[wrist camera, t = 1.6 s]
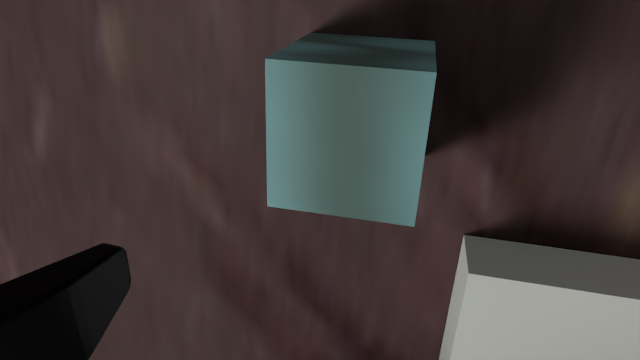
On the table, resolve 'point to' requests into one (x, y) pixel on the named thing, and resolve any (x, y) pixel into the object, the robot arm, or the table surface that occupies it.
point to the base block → (541, 304)
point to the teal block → (349, 125)
